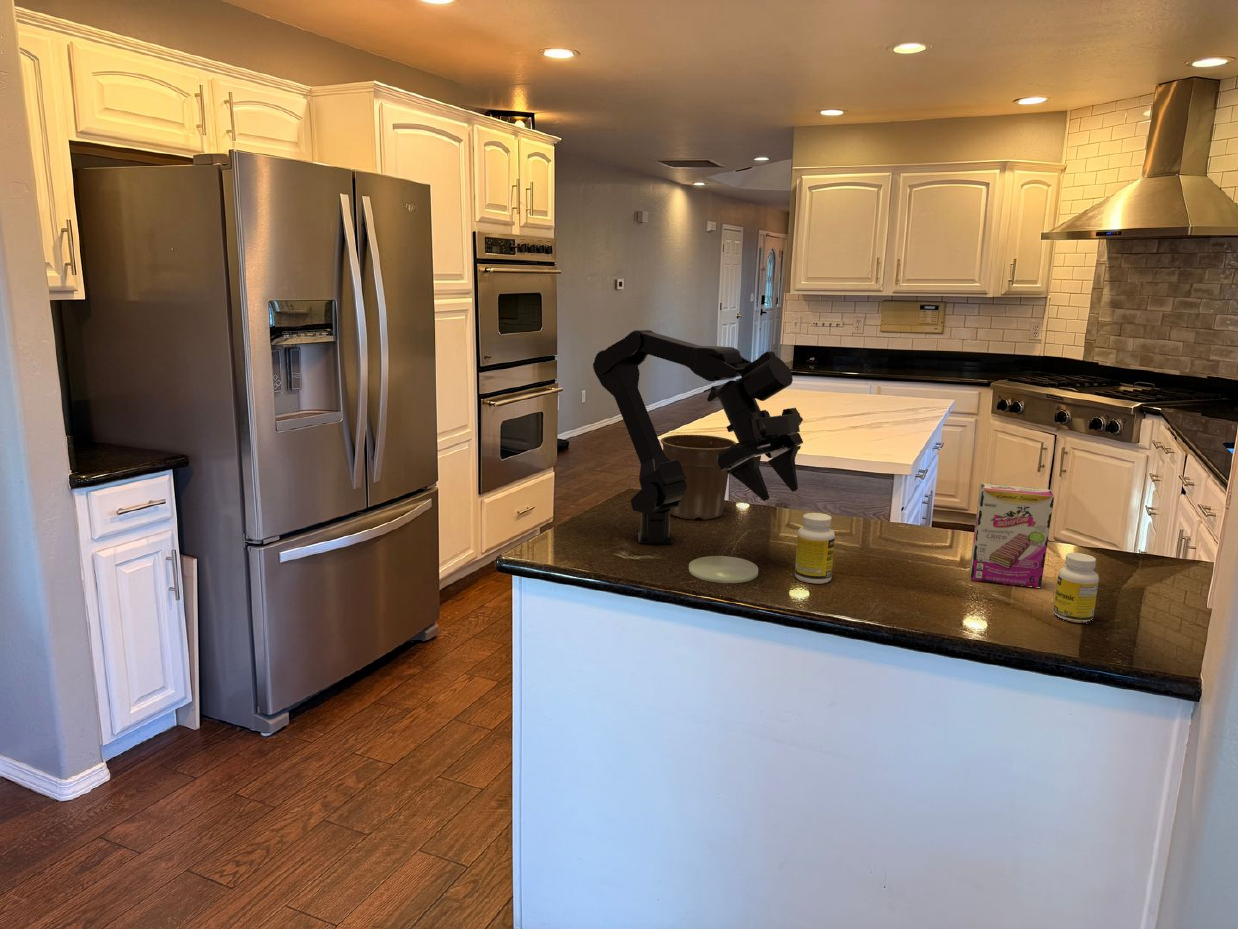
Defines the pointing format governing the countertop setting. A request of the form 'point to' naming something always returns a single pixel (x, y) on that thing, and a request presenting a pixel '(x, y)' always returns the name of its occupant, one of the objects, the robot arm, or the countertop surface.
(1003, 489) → the candy bar box
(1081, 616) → the supplement bottle
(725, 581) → the disc
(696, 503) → the plant pot
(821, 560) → the pill bottle
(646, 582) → the countertop surface
